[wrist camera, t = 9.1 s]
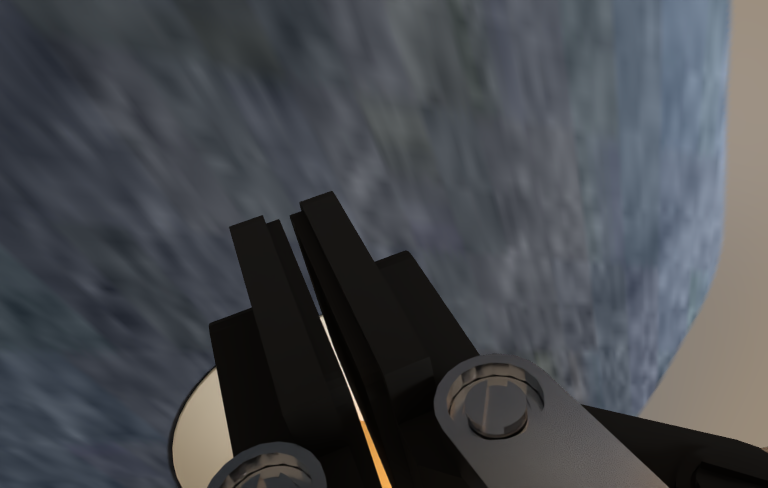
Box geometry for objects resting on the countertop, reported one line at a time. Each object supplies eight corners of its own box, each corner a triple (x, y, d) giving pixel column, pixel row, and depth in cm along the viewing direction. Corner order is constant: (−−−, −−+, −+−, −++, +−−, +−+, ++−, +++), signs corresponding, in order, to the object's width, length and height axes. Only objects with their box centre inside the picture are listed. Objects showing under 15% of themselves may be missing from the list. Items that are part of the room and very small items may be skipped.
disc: (119, 387, 27) (119, 391, 27) (433, 268, 29) (434, 271, 29) (230, 560, 35) (231, 564, 35) (468, 457, 38) (470, 460, 37)
